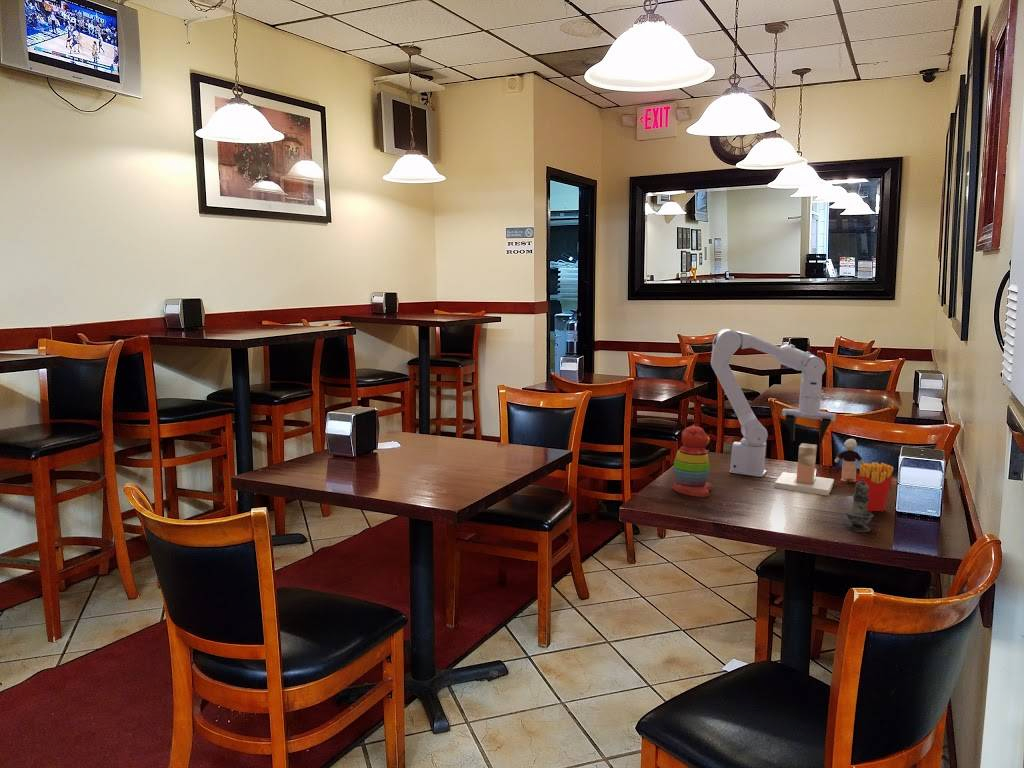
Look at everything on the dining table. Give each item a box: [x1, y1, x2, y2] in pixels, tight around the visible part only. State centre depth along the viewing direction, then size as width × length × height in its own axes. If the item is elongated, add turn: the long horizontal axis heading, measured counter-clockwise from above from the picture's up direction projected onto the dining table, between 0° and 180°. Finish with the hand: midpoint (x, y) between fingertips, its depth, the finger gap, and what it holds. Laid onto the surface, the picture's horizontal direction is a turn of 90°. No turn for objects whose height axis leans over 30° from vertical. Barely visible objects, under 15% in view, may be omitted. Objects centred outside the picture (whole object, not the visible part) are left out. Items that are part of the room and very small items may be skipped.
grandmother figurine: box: [834, 438, 864, 482], centre depth 224 cm, size 8×4×13 cm, turn 84°
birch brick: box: [797, 442, 818, 466], centre depth 216 cm, size 4×6×5 cm, turn 152°
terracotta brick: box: [796, 463, 816, 484], centre depth 217 cm, size 4×6×5 cm, turn 153°
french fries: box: [856, 461, 894, 512], centre depth 196 cm, size 8×4×12 cm, turn 94°
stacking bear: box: [672, 424, 713, 498], centre depth 207 cm, size 11×10×18 cm
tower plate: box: [774, 471, 835, 497], centre depth 218 cm, size 14×14×2 cm
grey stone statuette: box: [845, 479, 874, 533], centre depth 181 cm, size 6×6×12 cm
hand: (806, 442), depth 227 cm, fingers open, 7 cm apart
